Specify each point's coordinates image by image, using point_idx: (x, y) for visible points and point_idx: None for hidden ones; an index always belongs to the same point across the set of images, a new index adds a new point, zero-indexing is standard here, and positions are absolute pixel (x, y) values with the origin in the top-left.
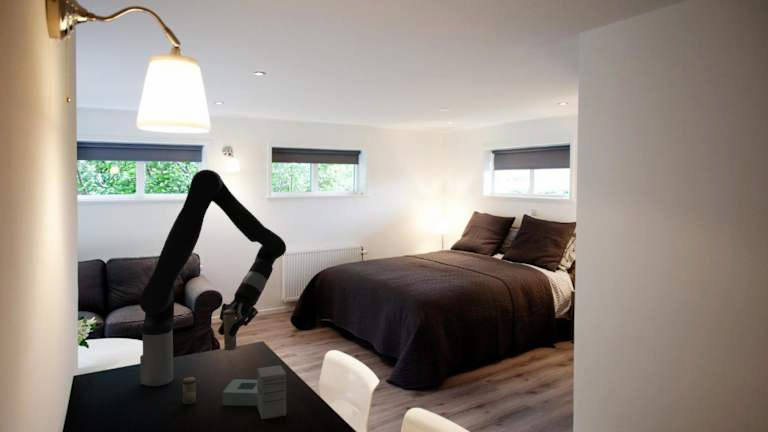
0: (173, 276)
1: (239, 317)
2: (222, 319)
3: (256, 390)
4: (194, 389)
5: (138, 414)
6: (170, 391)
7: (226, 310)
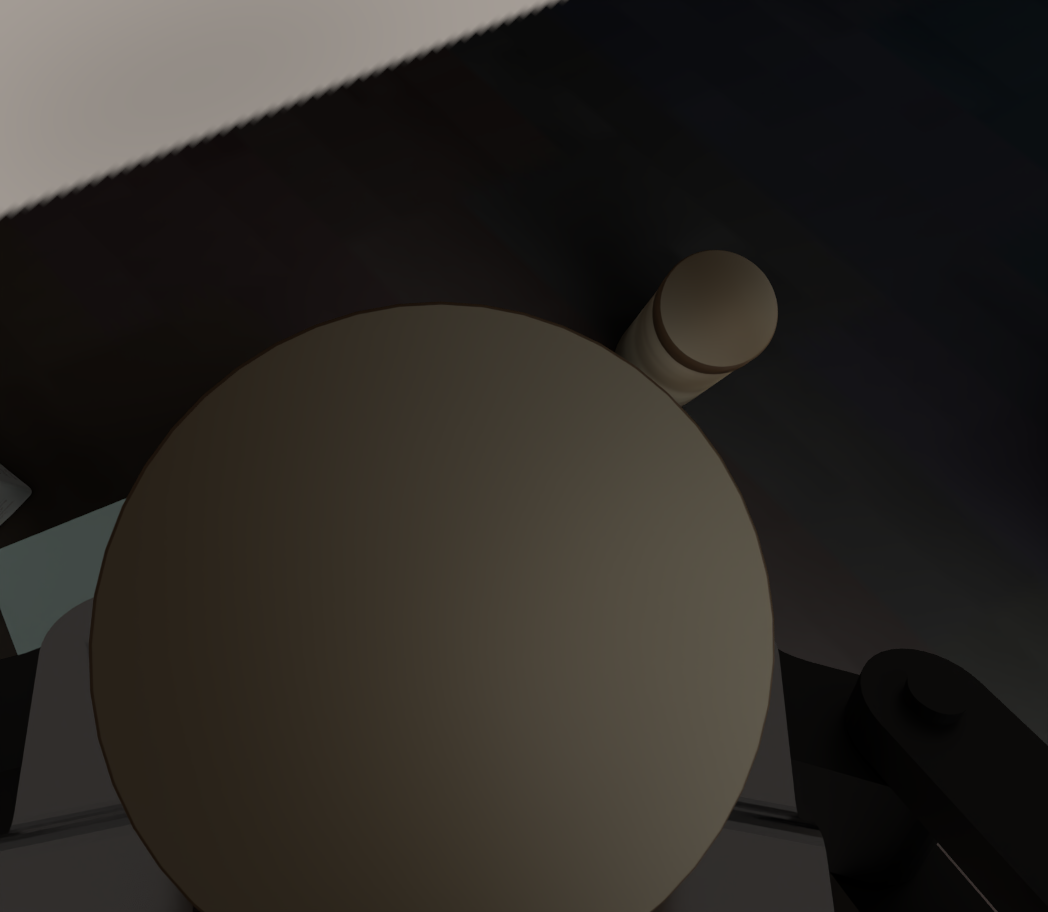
0: None
1: (22, 797)
2: (832, 694)
3: (73, 583)
4: (640, 344)
5: (813, 64)
6: (949, 442)
7: (697, 657)
